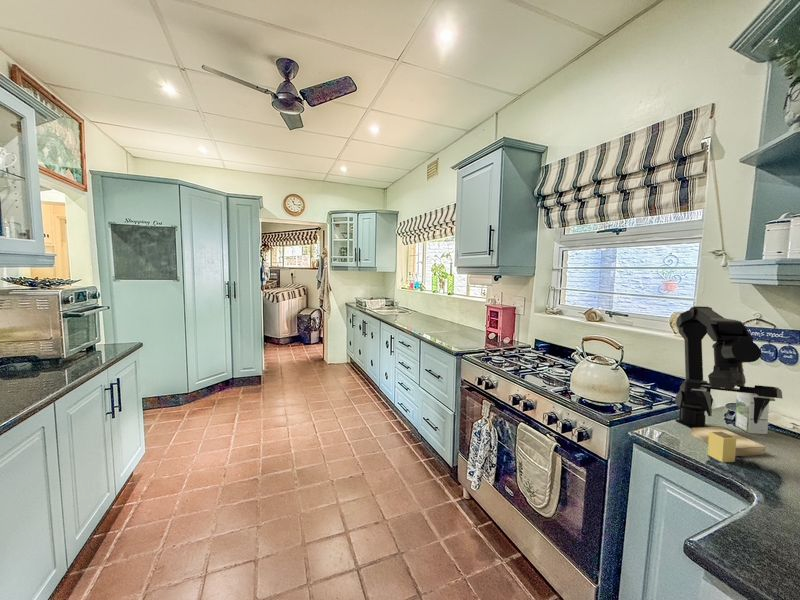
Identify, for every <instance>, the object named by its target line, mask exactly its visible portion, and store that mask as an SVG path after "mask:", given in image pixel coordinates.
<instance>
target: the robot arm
mask: <svg viewBox="0 0 800 600" xmlns="http://www.w3.org/2000/svg"><path fill="white" fill-rule="evenodd" d="M675 325H676V327H677V328H678V329H677V330H678V331H677V332H678V333H679V335H680V336H681V337H682V339H683V341H684V367H685V369H684V370H685V371H684V372H685V380H684V381H683V382H682V383H681V384H680V386H679V391H678V393H677V394H676V396H675V397H674V402H675V405H676V406H677V407H678V408H679V416H678V418H675V419H674V421H675V422H677V423H678V424H679V423H680V424H681V425H684V426H686V427H688V428H691V429H692V428H702V427H709V426H708V425H707V424H706V415H705V414H706V413H707V416H708V417H712V414H713V410H712V408H713V407H712V406H713V402H714V398H713V396H712V394H711V391H712V390H715V391H716V390H717V391H723V392H724V391H725V392H732V393H733V392H735V393H737V392H742V393H752V394H756V395H757V397H753V398H754V423H755V424H757V423H758V421H759V419H760V417H761V415H762V413H763V411H764V409H765V407H766V406H767V405H768V403H769V404H770V402H775V401H776V399H783V392H782V389H780V388H779V387H777V386H767V385H759V384H758V385H757V384H756V385H754V386H745V385H746V382H747V381H746V376H745V373H744V372H745V371H744V368H743V367H744V366H743V363H744V364H745V363H754V362H756V361H758V360H759V359H760V358H761V356H762V350H761V349H760V347H759V346H758V345H757V344H756V343H755V342H754V340H753V339H754V337H753V335H752V334H751V333H750V331H749V330H748V328H747V327H746V325H744V323H743V322H742V321H740V320H737V319H730V318H725V317H724V316H722V315H720V314H719V313H717V312H716V311H714V310H713V308H712V307H711V306H710V307H709V306H702V305H701V306H699V305H697V306H691V307H690V309H689V310H686V311H684V312H681V313H680V314H679V315H678V316H677V318H676V323H675ZM706 335H707V336H709V337H710V339H711V341H713V342H714V343H713V344H712V346H711V348H713V361H714V365H713V371H711V372H710V373H709V374H708V375H707V376H708V381H707V380H704V368H703V343H702V341H703V339H704V338H705V336H706ZM735 387H736V388H735ZM737 387H740V389H738V388H737Z"/></svg>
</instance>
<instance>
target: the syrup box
mask: <svg viewBox="0 0 800 600" xmlns="http://www.w3.org/2000/svg"><path fill="white" fill-rule="evenodd" d="M736 388H738V389H740V387H737V386H736ZM753 397H757V395H756V394H752V393H742V392H736V401H735V403H736V404H735V405H736V406H735V420H734V421H735V423H734V424H735V425H734V426H735V427H737V428H739V429H741V430H742V431H744V432H746V433H749V434H753V435H755V434H756V435H768V430H769V429H768V428H769V427H768V426H769V412H770V411H769V410H770V409H769V407H770V402H769V403H768V405H767V406H766V407H765V409H764V411H763V413H762V415H761V417H760V419H759V421H758V423H757V424H755V423H754V398H753Z"/></svg>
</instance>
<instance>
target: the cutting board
mask: <svg viewBox="0 0 800 600" xmlns="http://www.w3.org/2000/svg"><path fill="white" fill-rule="evenodd" d="M709 432H724V433H726V434H728V435H731V436H733V437H735V438H736V451H735V457H745V456H748V457H749V456H763V455H766V446H765V445H763V444H761V443H758V442H757V441H754V440H752V439H748V438H747V437H744V436H742V435H740V434H737V433H735V432H733V431H730V430H727V429H725V428H723V427H720V426H708V427H702V428H691V436H692V437H694V438H696V439H698V440H700V441H703V443H707V444H708V441H709Z"/></svg>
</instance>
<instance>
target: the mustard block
mask: <svg viewBox="0 0 800 600" xmlns="http://www.w3.org/2000/svg"><path fill="white" fill-rule="evenodd" d="M707 445H708V446H707V456H709V457H710V458H713V459H715V460H716V461H719V462H720V461H721V462H720V463H733V462H736V456H735V451H736V438H735V437H733V436H731V435H728V434H726V433H724V432H709V441H708V443H707Z"/></svg>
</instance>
